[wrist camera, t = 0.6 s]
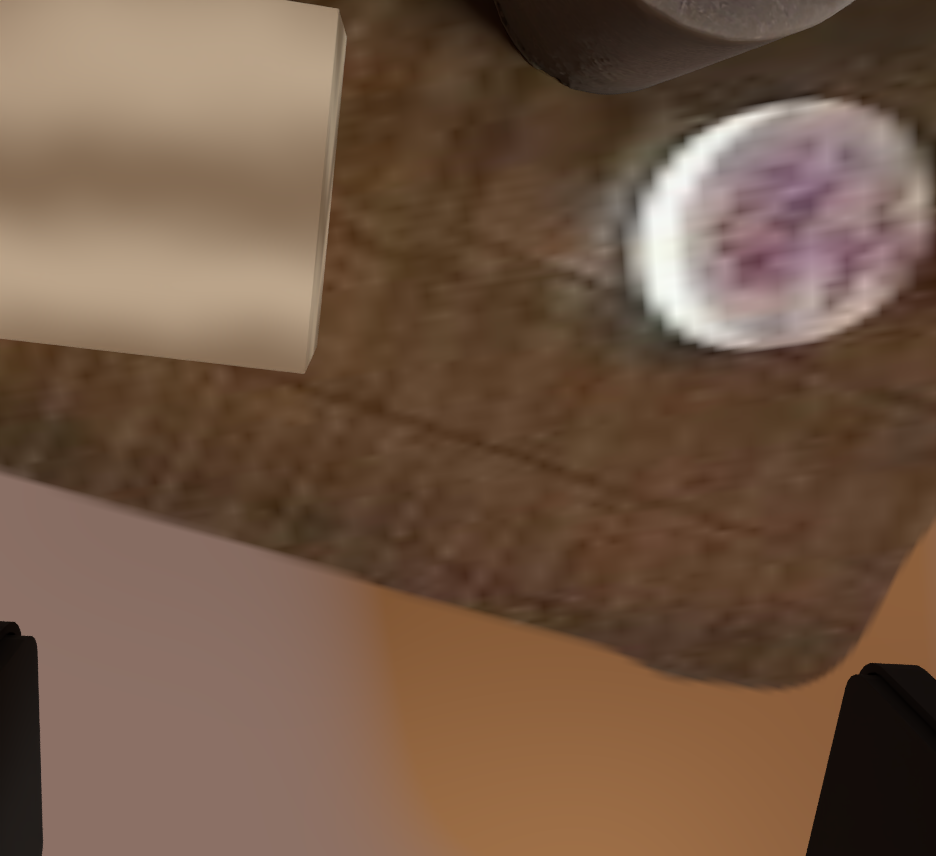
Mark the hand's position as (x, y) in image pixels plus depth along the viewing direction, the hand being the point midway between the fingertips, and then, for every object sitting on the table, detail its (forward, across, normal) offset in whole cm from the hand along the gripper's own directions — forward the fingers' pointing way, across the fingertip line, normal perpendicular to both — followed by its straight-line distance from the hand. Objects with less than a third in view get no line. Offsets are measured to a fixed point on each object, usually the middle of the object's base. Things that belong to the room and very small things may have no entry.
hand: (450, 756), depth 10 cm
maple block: (+29, +9, -6) cm, 31 cm away
